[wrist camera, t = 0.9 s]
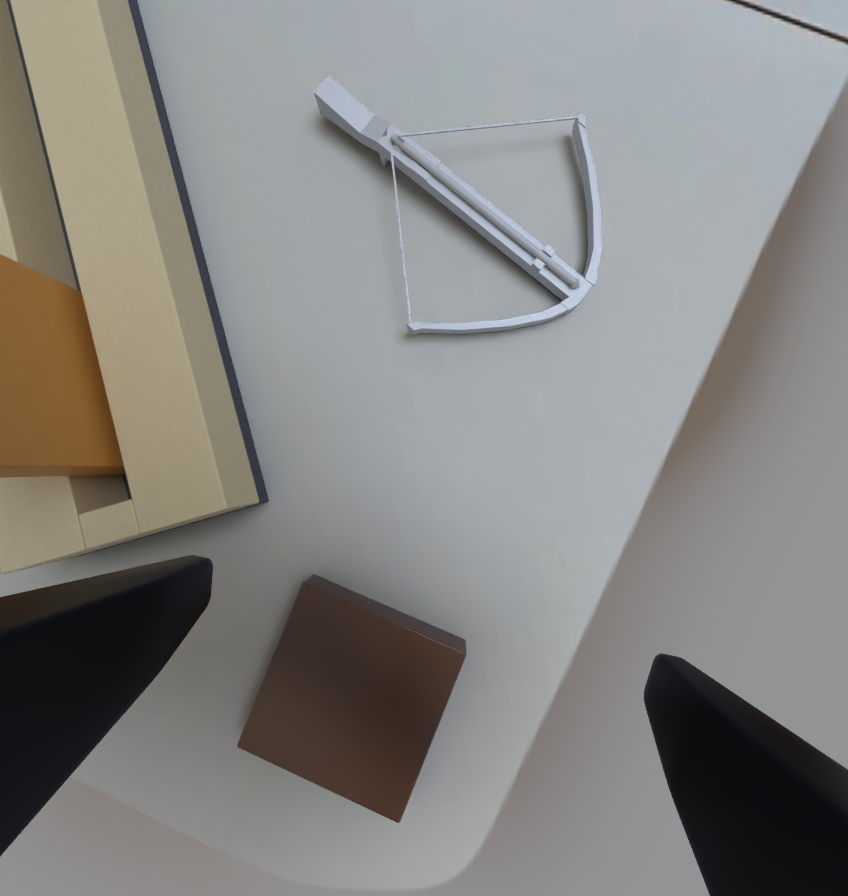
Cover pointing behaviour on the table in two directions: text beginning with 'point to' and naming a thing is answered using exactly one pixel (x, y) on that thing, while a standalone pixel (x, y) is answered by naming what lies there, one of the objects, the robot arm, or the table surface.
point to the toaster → (115, 282)
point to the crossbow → (475, 206)
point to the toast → (50, 382)
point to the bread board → (353, 696)
